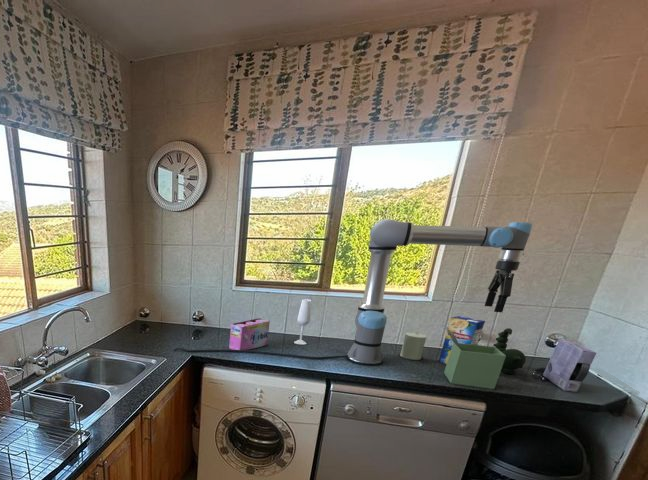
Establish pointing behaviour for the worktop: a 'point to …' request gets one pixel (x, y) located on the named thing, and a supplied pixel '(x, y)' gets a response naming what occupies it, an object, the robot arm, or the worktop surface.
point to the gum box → (249, 334)
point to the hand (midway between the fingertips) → (492, 309)
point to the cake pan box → (569, 365)
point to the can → (413, 346)
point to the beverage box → (461, 334)
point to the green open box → (474, 365)
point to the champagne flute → (304, 317)
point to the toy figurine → (509, 353)
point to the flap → (453, 338)
